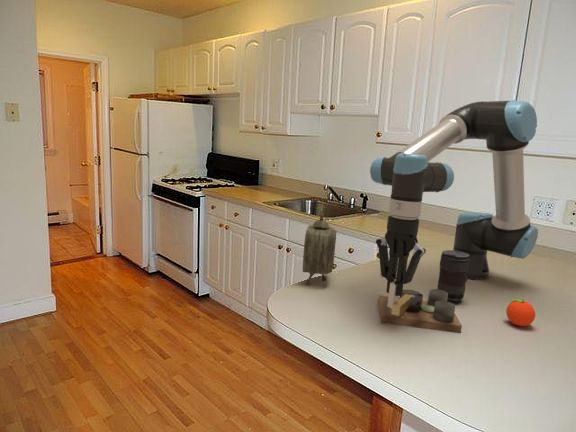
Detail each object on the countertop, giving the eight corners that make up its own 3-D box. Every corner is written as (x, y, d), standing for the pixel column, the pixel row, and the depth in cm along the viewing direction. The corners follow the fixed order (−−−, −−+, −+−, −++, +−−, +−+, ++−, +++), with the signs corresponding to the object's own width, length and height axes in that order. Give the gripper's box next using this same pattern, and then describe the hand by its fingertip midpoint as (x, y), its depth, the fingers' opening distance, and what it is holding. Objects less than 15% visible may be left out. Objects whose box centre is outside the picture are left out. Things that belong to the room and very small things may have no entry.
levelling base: (448, 309, 122) (451, 290, 121) (460, 333, 107) (464, 310, 106) (377, 301, 125) (380, 282, 123) (380, 322, 110) (383, 301, 109)
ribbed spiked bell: (306, 272, 147) (312, 201, 142) (332, 275, 146) (339, 204, 141) (301, 286, 133) (306, 208, 128) (329, 289, 132) (336, 211, 127)
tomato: (496, 322, 115) (500, 297, 114) (505, 316, 120) (509, 292, 119) (528, 333, 110) (533, 307, 108) (536, 326, 115) (541, 301, 113)
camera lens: (440, 293, 135) (446, 248, 132) (466, 300, 130) (473, 253, 127) (431, 299, 129) (437, 252, 126) (458, 307, 124) (465, 258, 121)
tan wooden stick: (402, 301, 120) (404, 287, 119) (423, 307, 116) (425, 292, 116) (383, 317, 107) (384, 302, 107) (406, 324, 104) (408, 308, 103)
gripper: (373, 213, 106) (363, 301, 110) (421, 223, 97) (408, 318, 101) (388, 210, 111) (378, 295, 116) (435, 220, 102) (422, 311, 107)
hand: (392, 306), depth 109 cm, fingers closed
